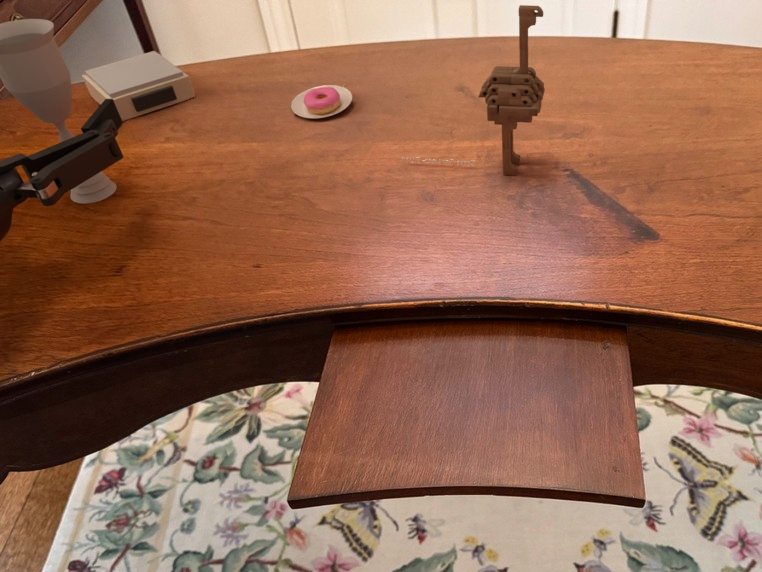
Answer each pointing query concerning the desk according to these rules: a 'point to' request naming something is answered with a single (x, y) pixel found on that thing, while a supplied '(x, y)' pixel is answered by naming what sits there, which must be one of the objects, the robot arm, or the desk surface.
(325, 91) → the donut
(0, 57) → the chalice
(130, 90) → the scale
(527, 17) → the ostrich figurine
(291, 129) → the desk surface
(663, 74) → the desk surface
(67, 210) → the desk surface
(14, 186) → the robot arm
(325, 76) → the desk surface
